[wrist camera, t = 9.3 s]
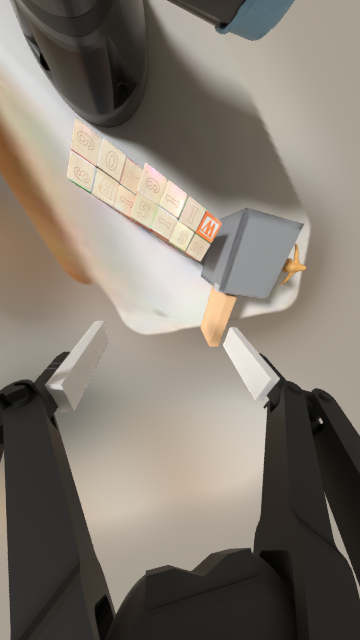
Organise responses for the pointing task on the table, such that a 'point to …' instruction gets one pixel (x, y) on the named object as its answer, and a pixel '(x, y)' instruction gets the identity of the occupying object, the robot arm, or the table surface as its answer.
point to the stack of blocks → (140, 193)
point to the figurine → (292, 265)
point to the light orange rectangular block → (217, 316)
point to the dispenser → (249, 252)
